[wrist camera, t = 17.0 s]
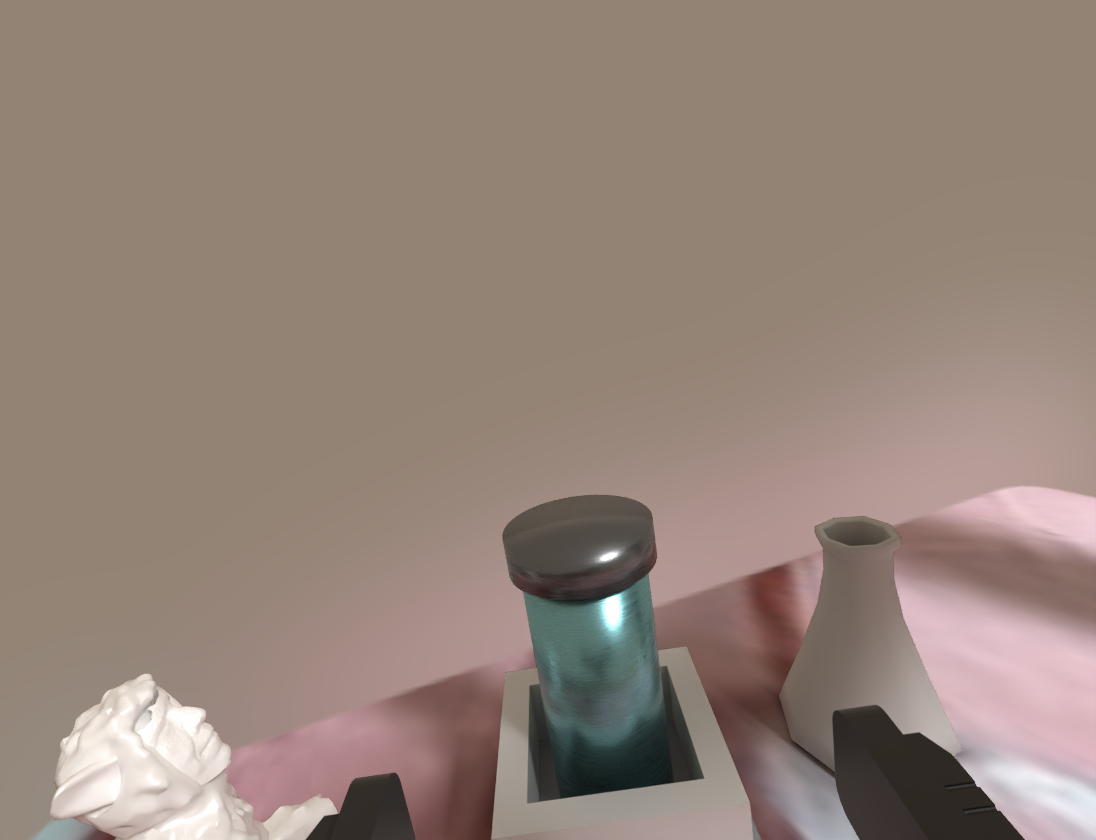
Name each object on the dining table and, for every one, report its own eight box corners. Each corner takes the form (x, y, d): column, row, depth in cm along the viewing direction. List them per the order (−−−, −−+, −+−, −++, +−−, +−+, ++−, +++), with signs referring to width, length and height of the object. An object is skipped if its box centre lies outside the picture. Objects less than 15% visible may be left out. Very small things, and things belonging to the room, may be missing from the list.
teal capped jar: (667, 729, 28) (637, 487, 25) (701, 838, 22) (667, 544, 20) (548, 746, 28) (505, 507, 25) (552, 860, 22) (498, 570, 20)
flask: (754, 693, 31) (739, 516, 29) (881, 662, 32) (876, 488, 30) (839, 809, 24) (828, 588, 22) (999, 766, 25) (1004, 548, 23)
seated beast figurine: (398, 1012, 20) (310, 701, 17) (80, 1246, 16) (-104, 888, 13) (337, 815, 28) (271, 582, 25) (117, 935, 24) (9, 674, 21)
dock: (704, 715, 30) (695, 637, 29) (782, 922, 21) (774, 815, 20) (508, 742, 30) (493, 666, 29) (495, 961, 21) (471, 857, 20)
